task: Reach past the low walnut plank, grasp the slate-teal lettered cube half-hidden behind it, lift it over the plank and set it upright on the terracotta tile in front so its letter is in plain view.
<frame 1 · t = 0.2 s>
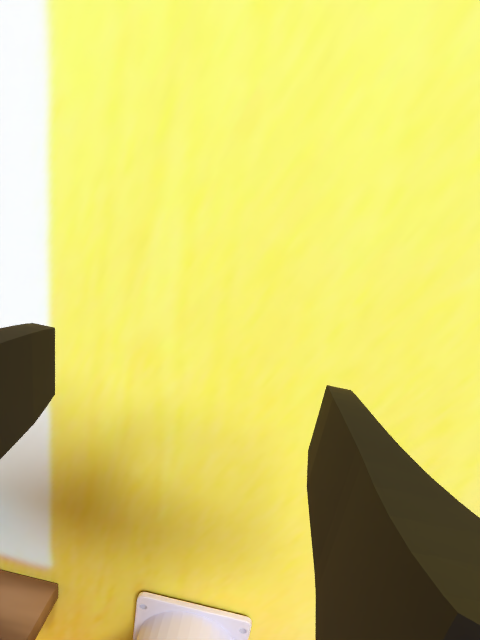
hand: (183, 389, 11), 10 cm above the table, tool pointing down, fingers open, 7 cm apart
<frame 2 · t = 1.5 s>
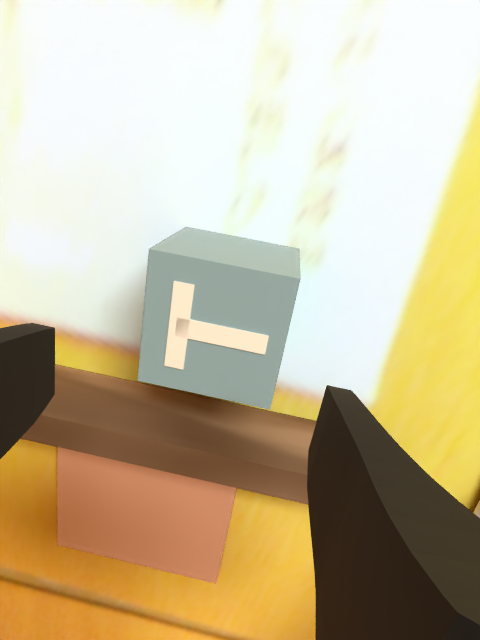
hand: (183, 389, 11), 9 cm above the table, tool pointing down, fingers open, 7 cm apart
terracotta tile: (145, 494, 24), on the table
lettered cube: (233, 291, 19), on the table
walnut plank: (193, 407, 21), on the table
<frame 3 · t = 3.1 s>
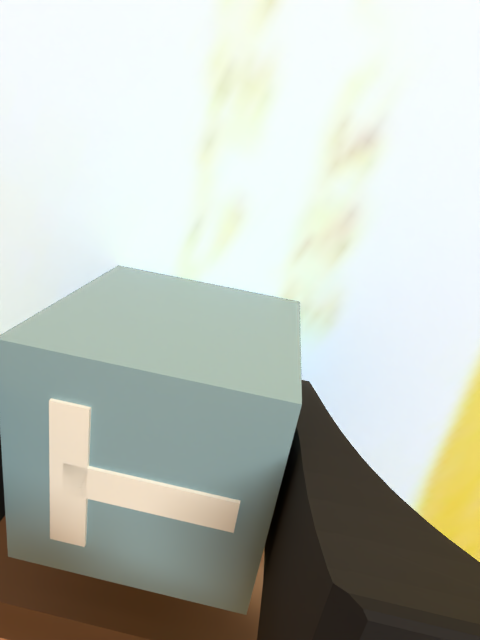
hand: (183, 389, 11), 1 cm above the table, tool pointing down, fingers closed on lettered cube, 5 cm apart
lettered cube: (196, 364, 12), on the table, touching gripper
walnut plank: (144, 520, 15), on the table
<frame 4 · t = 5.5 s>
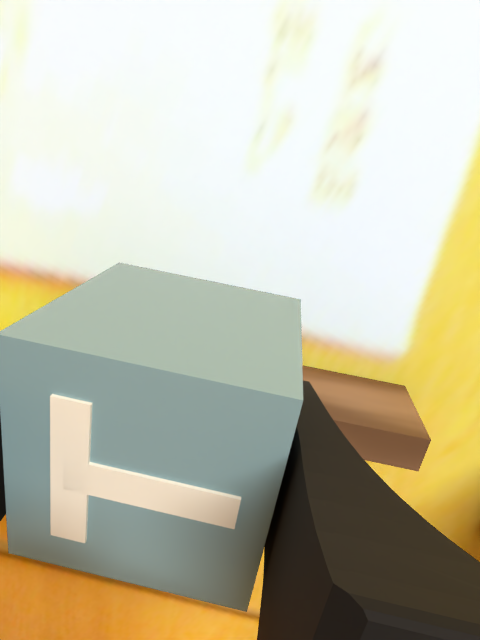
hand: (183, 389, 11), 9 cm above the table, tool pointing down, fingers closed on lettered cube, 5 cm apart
lettered cube: (196, 362, 12), point 7 cm above the table, touching gripper
walnut plank: (212, 361, 20), on the table
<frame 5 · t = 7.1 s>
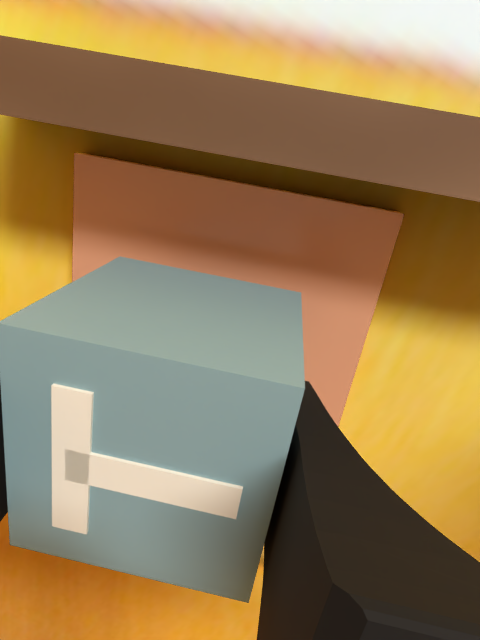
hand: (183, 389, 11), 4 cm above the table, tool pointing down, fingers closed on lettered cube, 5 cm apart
terracotta tile: (215, 327, 15), on the table
lettered cube: (197, 356, 12), point 3 cm above the table, touching gripper
walnut plank: (313, 141, 12), on the table
when the fingers open (4 cm above the table, at t = 8.2 s): lettered cube drops 1 cm, resting on terracotta tile.
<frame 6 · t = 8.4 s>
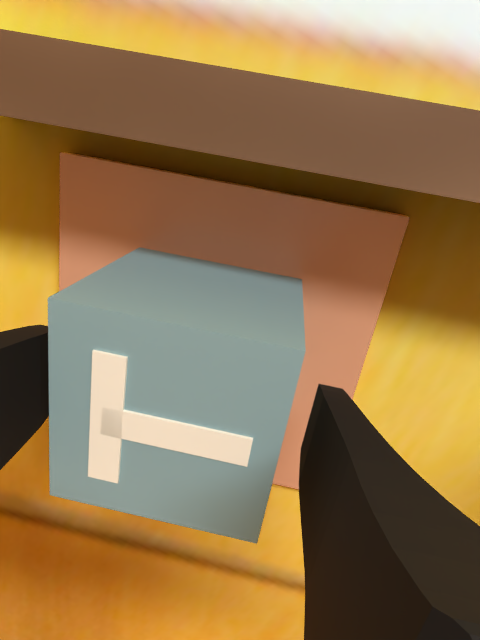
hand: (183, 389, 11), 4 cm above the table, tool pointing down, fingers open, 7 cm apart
terracotta tile: (209, 336, 14), on the table
lettered cube: (208, 337, 13), point 1 cm above the table, touching terracotta tile
walnut plank: (312, 140, 11), on the table
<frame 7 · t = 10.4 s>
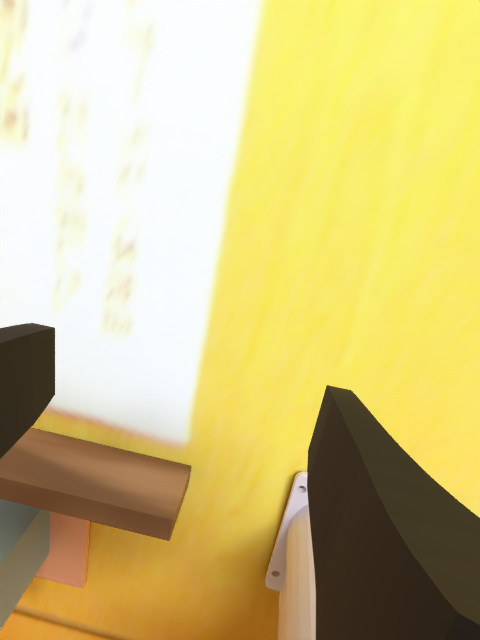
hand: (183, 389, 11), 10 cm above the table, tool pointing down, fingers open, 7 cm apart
terracotta tile: (18, 512, 28), on the table
lettered cube: (13, 516, 27), point 1 cm above the table, touching terracotta tile
walnut plank: (47, 441, 25), on the table
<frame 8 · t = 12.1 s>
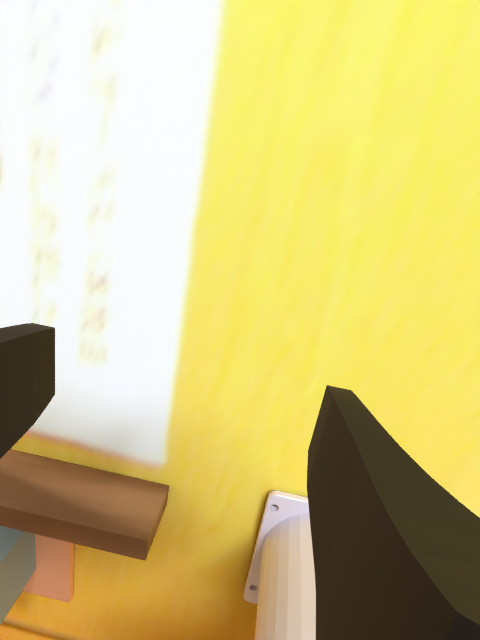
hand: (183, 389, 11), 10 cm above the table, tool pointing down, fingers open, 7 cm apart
terracotta tile: (5, 530, 29), on the table
lettered cube: (0, 535, 28), point 1 cm above the table, touching terracotta tile
walnut plank: (31, 463, 26), on the table
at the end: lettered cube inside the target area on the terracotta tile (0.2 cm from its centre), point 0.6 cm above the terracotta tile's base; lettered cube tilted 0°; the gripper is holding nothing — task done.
